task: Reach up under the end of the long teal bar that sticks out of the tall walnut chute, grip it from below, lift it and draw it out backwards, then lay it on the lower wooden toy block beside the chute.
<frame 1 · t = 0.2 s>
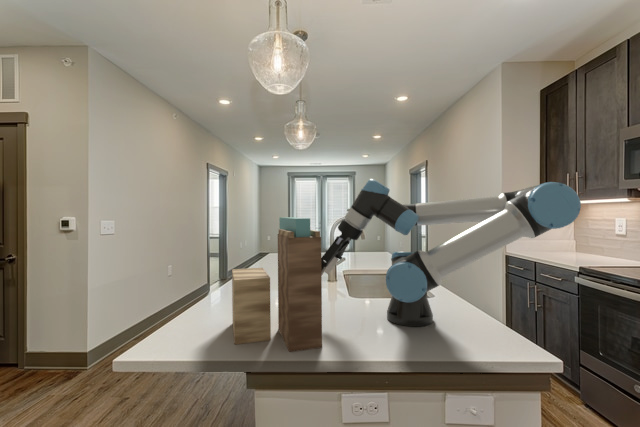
hand: (319, 277, 108), 15 cm above the counter, tool tilted 35°, fingers open, 13 cm apart
wooden toy block: (250, 331, 100), on the counter
bar: (293, 233, 101), point 30 cm above the counter, touching chute stand
chute stand: (298, 338, 94), on the counter
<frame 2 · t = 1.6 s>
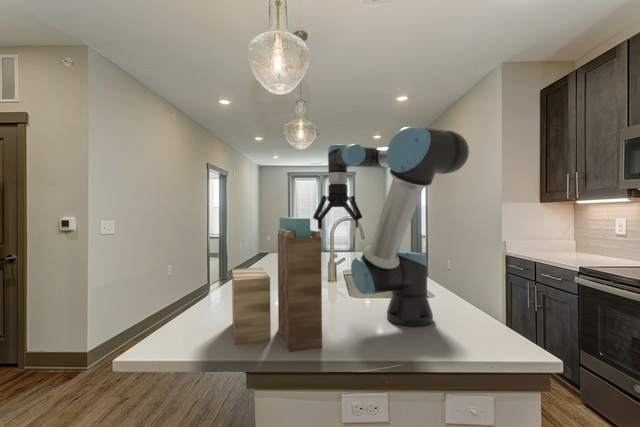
hand: (338, 236, 130), 27 cm above the counter, tool pointing down, fingers open, 13 cm apart
nothing on the counter moved.
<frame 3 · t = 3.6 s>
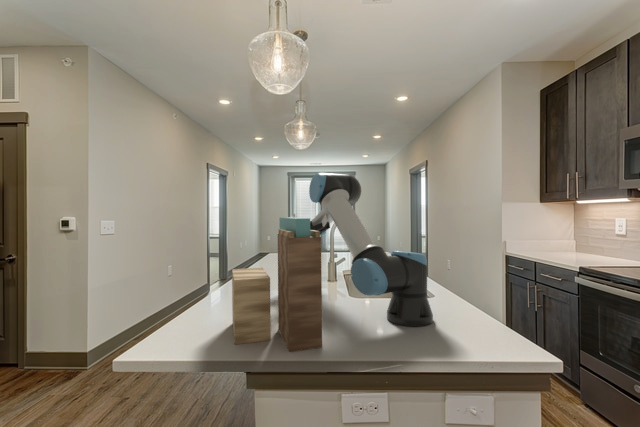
hand: (311, 216, 130), 35 cm above the counter, tool pointing upward, fingers open, 13 cm apart
nothing on the counter moved.
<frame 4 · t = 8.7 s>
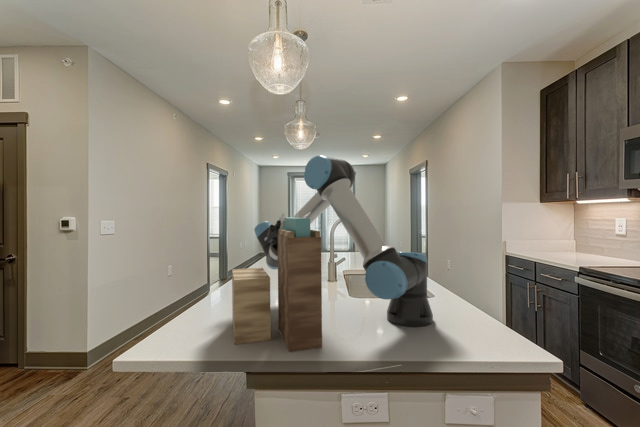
hand: (290, 217, 104), 35 cm above the counter, tool pointing upward, fingers closed on bar, 4 cm apart
bar: (293, 233, 101), point 30 cm above the counter, touching chute stand, gripper
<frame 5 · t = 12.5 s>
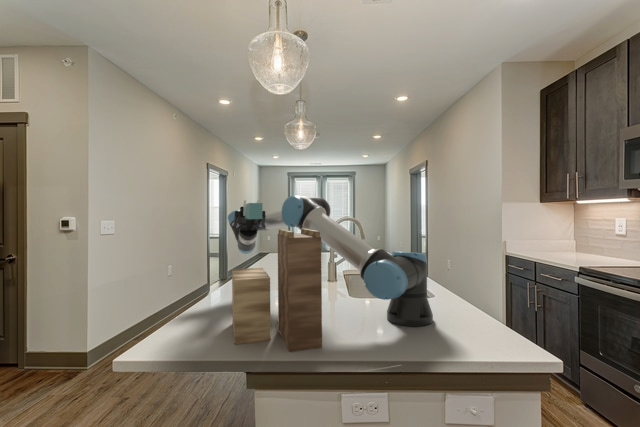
hand: (251, 203, 117), 40 cm above the counter, tool pointing upward, fingers closed on bar, 4 cm apart
bar: (252, 218, 113), point 35 cm above the counter, touching gripper
when the fingers open (25 cm above the counter, at t = 16.7 s): bar drops 1 cm, resting on wooden toy block.
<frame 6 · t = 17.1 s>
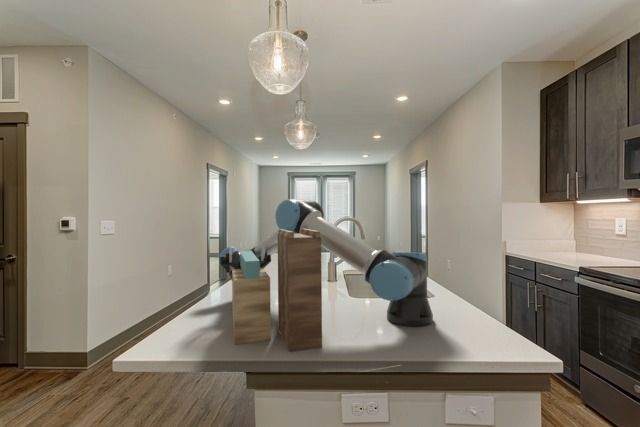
hand: (247, 250, 108), 24 cm above the counter, tool pointing upward, fingers open, 10 cm apart
bar: (248, 270, 104), point 18 cm above the counter, touching wooden toy block
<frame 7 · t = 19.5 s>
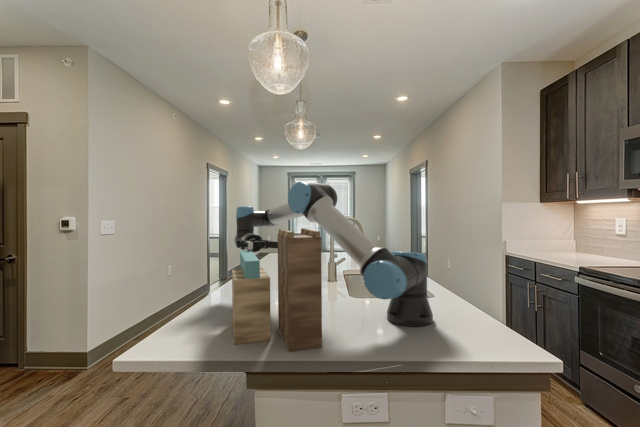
hand: (269, 246, 119), 24 cm above the counter, tool horizontal, fingers open, 13 cm apart
nothing on the counter moved.
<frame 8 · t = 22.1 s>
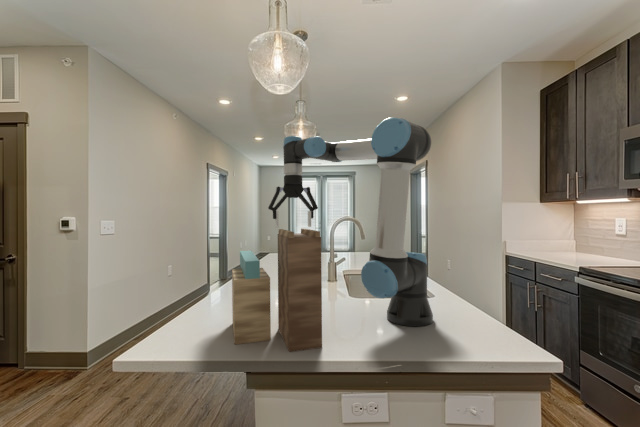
hand: (293, 227, 133), 31 cm above the counter, tool pointing down, fingers open, 13 cm apart
nothing on the counter moved.
at the end: bar touching wooden toy block; bar inside the target area (0.7 cm from its centre), point 18.0 cm above the counter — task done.
